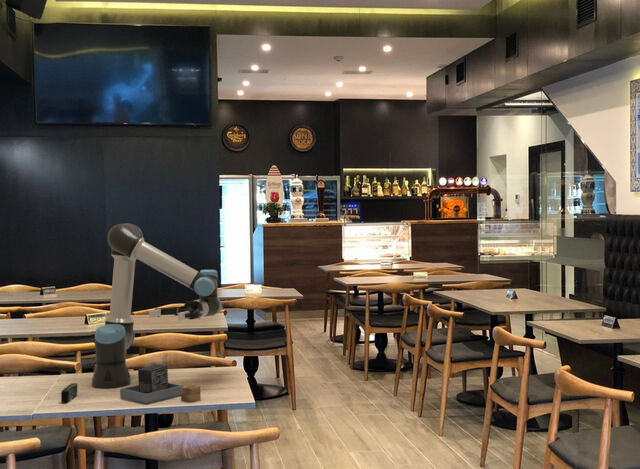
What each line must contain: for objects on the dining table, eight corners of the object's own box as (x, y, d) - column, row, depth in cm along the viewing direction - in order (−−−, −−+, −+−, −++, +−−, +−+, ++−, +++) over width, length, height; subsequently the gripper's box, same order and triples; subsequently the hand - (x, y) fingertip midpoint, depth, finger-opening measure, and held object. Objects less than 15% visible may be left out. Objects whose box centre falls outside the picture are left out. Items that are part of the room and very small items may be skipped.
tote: (120, 398, 284) (120, 388, 284) (157, 389, 297) (157, 380, 297) (146, 404, 274) (146, 394, 274) (183, 395, 287) (183, 385, 287)
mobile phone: (68, 390, 277) (79, 380, 292) (59, 390, 277) (71, 380, 292) (68, 404, 278) (79, 393, 293) (60, 404, 278) (71, 393, 293)
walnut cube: (181, 401, 278) (180, 387, 278) (189, 398, 283) (189, 384, 282) (191, 402, 276) (191, 389, 276) (200, 399, 280) (200, 386, 280)
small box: (155, 390, 293) (154, 363, 292) (169, 392, 290) (168, 364, 290) (137, 396, 283) (137, 368, 283) (152, 398, 280) (151, 370, 280)
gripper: (221, 320, 308) (191, 327, 289) (170, 316, 319) (138, 322, 299) (221, 302, 308) (191, 307, 289) (170, 298, 318) (138, 303, 299)
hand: (164, 315), depth 294 cm, fingers open, 13 cm apart
